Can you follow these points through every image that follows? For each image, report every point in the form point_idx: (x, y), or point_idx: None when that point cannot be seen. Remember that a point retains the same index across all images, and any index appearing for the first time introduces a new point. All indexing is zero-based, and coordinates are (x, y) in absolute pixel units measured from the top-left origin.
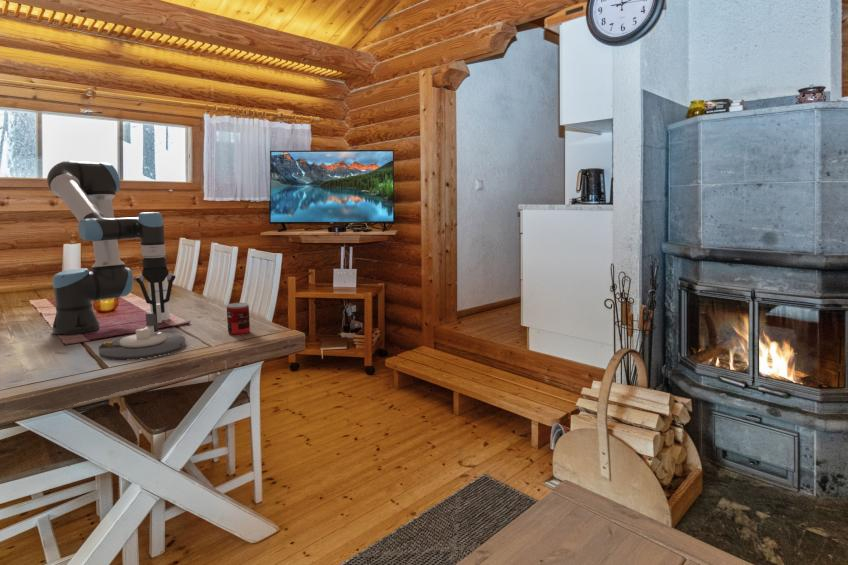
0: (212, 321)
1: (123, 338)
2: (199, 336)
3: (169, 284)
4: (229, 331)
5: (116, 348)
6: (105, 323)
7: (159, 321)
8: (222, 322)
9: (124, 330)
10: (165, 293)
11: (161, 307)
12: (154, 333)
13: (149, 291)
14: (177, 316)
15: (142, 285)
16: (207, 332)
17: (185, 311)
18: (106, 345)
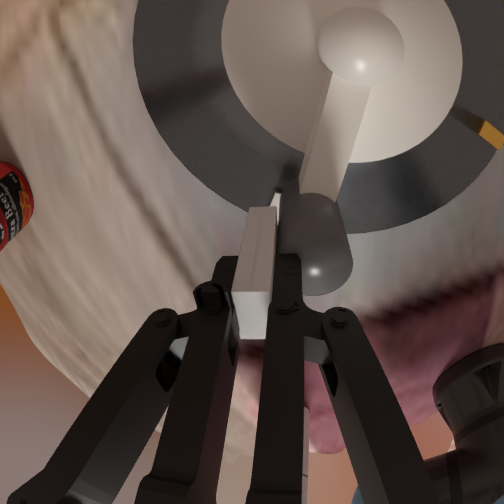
0: None
1: (447, 101)
2: (114, 185)
3: (80, 457)
4: (17, 181)
5: (457, 3)
6: (410, 408)
7: (263, 211)
8: (103, 335)
9: (390, 354)
10: None
11: (231, 284)
12: (295, 143)
13: (306, 486)
14: (246, 418)
15: (405, 495)
16: (103, 237)
17: (233, 437)
18: (497, 90)
